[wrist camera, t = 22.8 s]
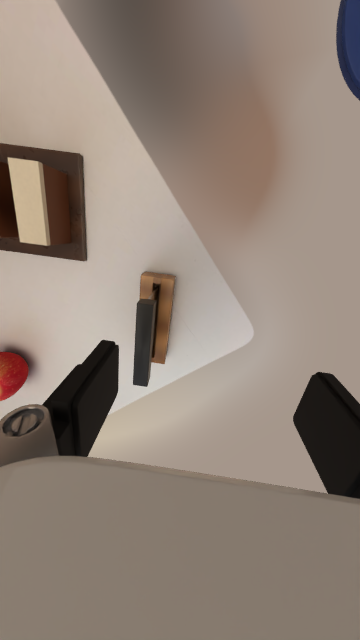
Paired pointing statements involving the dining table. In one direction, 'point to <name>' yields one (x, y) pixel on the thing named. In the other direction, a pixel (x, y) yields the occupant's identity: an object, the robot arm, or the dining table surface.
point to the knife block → (160, 309)
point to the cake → (3, 221)
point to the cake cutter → (145, 337)
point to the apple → (11, 374)
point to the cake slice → (40, 202)
